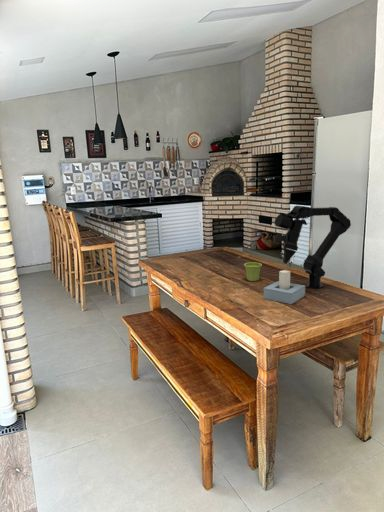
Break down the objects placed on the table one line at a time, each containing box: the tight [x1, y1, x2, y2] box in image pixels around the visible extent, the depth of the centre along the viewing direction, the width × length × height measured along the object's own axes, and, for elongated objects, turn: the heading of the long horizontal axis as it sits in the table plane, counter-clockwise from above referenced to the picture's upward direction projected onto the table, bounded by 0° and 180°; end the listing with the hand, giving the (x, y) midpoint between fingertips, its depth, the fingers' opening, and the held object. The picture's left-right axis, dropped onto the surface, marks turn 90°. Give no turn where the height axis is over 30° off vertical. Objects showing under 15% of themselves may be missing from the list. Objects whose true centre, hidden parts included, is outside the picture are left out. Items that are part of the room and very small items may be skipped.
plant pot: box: [243, 261, 263, 282], centre depth 210 cm, size 9×9×9 cm
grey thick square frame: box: [263, 280, 306, 305], centre depth 181 cm, size 14×14×5 cm
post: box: [278, 269, 291, 290], centre depth 180 cm, size 4×4×12 cm
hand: (284, 263), depth 187 cm, fingers open, 9 cm apart
